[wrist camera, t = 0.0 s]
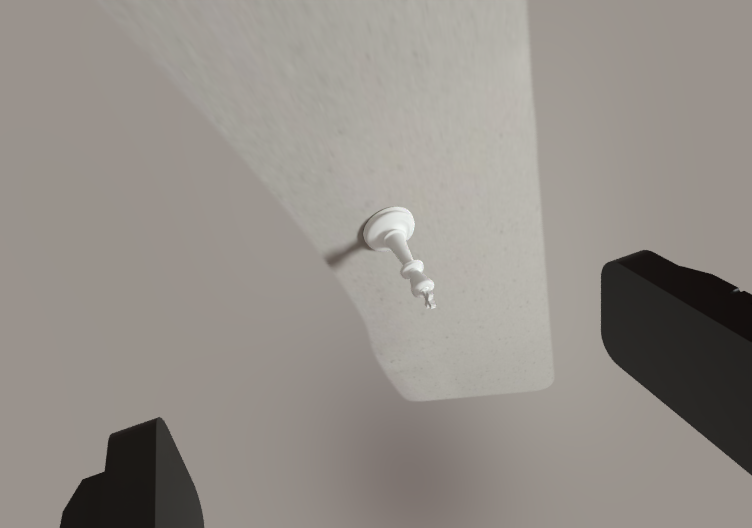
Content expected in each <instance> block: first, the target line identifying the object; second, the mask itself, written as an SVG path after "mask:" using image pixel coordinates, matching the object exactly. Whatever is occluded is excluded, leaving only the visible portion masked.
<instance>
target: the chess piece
mask: <svg viewBox="0 0 752 528" xmlns="http://www.w3.org/2000/svg"><path fill="white" fill-rule="evenodd" d="M414 228H415V222H414V219H413V217H412V214H411V213H410V211H408V210H407V209H405V208H402V207H390V208H386V209H384V210H381V211H380V212H378V213H376V214H375V215H374V216H373V217H371V219H370V220H369V221H368V222H367V224H366V226H365V228H364V232H363V237H364V240H365V242H366V243H367V244H368V245H369V247H370V248H372V249H373V250H376V251H381V252H384V251H390V250H392V251H393V253H394V254H395V255H396V256H397V258H398V259H399V260H400V262H401V263H402V265H403V267H402V268H401V271H400V274H401V276H402V277H403V278H405V279H410V283H411V291H412V294H413V296H415V297H424V298H425V306H426V308H430V309H433V308H436V303H435V301H434V300H433V295H434V293H433V292H432V290H433V288H434V283H433V281H432V280H431V279H429V278H428V277H426V276H425V275H424V274H423V273H422V271H423V268H424V266H423V263H422V261H420V260H413V258H412V256H411V253H410V251H409V248H408V246H407V243H406V241H407V240H408V239H409V238H410V237H411V235H412V234H413V231H414Z"/></svg>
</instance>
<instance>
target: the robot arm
mask: <svg viewBox="0 0 752 528" xmlns="http://www.w3.org/2000/svg"><path fill="white" fill-rule="evenodd" d="M601 335H602V340H603V343H604V346H605V348H606V350H607V352H608V354H609V356H610V357H611V358H612V360H613V361H614V362H615V363H616V364H617V365H618V366H620V367H621V368H622V369H623V370H624V371H626V372H627V373H628V374H629V375H630V376H632V377H633V378H634V379H635V380H636V381H638V382H639V383H640V384H641V385H643V386H644V387H645V388H646V389H648V390H649V391H650V392H651V393H652V394H653V395H655V396H656V397H657V398H658V399H660V400H661V401H662V402H663V403H664V404H666V405H667V406H668V407H669V408H670V409H672V410H673V411H674V412H675V413H677V414H678V415H679V416H680V417H681V418H683V419H684V420H685V421H686V422H688V423H689V424H690V425H691V426H692V427H694V428H695V429H696V430H697V431H698V432H700V433H701V434H702V435H703V436H705V437H706V438H707V439H708V440H710V441H711V442H712V443H713V444H714V445H715V446H717V447H718V448H719V449H720V450H722V451H723V452H724V453H725V454H726V455H728V456H729V457H730V458H731V459H732V460H734V461H735V462H736V463H737V464H739V465H740V466H741V467H742V468H744V469H745V470H746V471H747V472H749V473H750V474H751V475H752V295H751V294H750V293H748V292H746V291H742V292H740V291H739V288H738V287H736V286H734V285H732V284H730V283H728V282H726V281H724V280H722V279H720V278H719V277H717V276H715V275H713V274H709V273H705V272H701V271H698V270H694V269H690V268H686V267H682V266H678V265H676V264H674V263H673V262H671V261H669V260H667V259H665V258H663V257H661V256H659V255H658V254H656V253H654V252H652V251H648V250H642V251H639V252H636V253H633V254H631V255H628V256H625V257H622V258H619V259H616V260H613V261H611V262H608V263H606V264H605V265H604V267H603V269H602V273H601ZM60 528H204V520H203V514H202V509H201V505H200V501H199V498H198V494H197V491H196V489H195V486H194V483H193V481H192V479H191V477H190V475H189V473H188V470H187V468H186V466H185V464H184V462H183V460H182V457H181V455H180V453H179V451H178V449H177V447H176V445H175V442H174V440H173V438H172V436H171V434H170V432H169V429H168V427H167V425H166V424H165V422H164V421H163V420H162V418H160V417H158V418H156V419H153V420H150V421H147V422H144V423H141V424H138V425H135V426H132V427H130V428H127V429H124V430H121V431H118V432H115V433H112V434H111V435H110V437H109V440H108V448H107V456H106V466H105V472H102V473H99V474H97V475H94V476H91V477H89V478H85V479H83V480H82V481H81V483H80V485H79V486H78V488H77V489H76V491H75V493H74V494H73V496H72V498H71V499H70V501H69V503H68V504H67V506H66V507H65V509H64V511H63V514H62V519H61V524H60Z"/></svg>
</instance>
